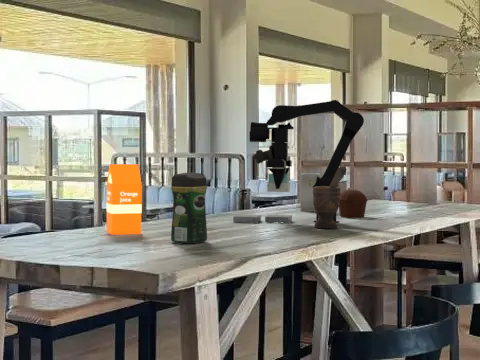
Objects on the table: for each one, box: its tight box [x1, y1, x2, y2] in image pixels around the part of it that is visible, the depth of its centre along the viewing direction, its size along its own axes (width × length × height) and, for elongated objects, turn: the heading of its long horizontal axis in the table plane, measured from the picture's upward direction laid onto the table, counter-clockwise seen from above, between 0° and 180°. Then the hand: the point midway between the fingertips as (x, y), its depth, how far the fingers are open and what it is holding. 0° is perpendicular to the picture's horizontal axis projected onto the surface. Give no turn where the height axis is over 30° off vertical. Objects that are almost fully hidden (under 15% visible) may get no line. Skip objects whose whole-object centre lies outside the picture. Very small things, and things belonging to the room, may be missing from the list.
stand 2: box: [264, 214, 293, 224], centre depth 269 cm, size 8×8×2 cm
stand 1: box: [232, 214, 262, 224], centre depth 268 cm, size 8×8×2 cm
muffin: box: [338, 189, 369, 219], centre depth 292 cm, size 12×11×10 cm
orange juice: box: [106, 163, 143, 235], centre depth 230 cm, size 8×9×20 cm
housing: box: [266, 172, 291, 193], centre depth 268 cm, size 7×5×7 cm
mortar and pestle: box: [313, 165, 347, 230], centre depth 249 cm, size 12×9×20 cm
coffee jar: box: [170, 172, 208, 245], centre depth 209 cm, size 10×8×19 cm
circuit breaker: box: [299, 172, 321, 212], centre depth 320 cm, size 8×14×15 cm, turn 174°
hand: (278, 188), depth 268 cm, fingers closed on housing, 5 cm apart
